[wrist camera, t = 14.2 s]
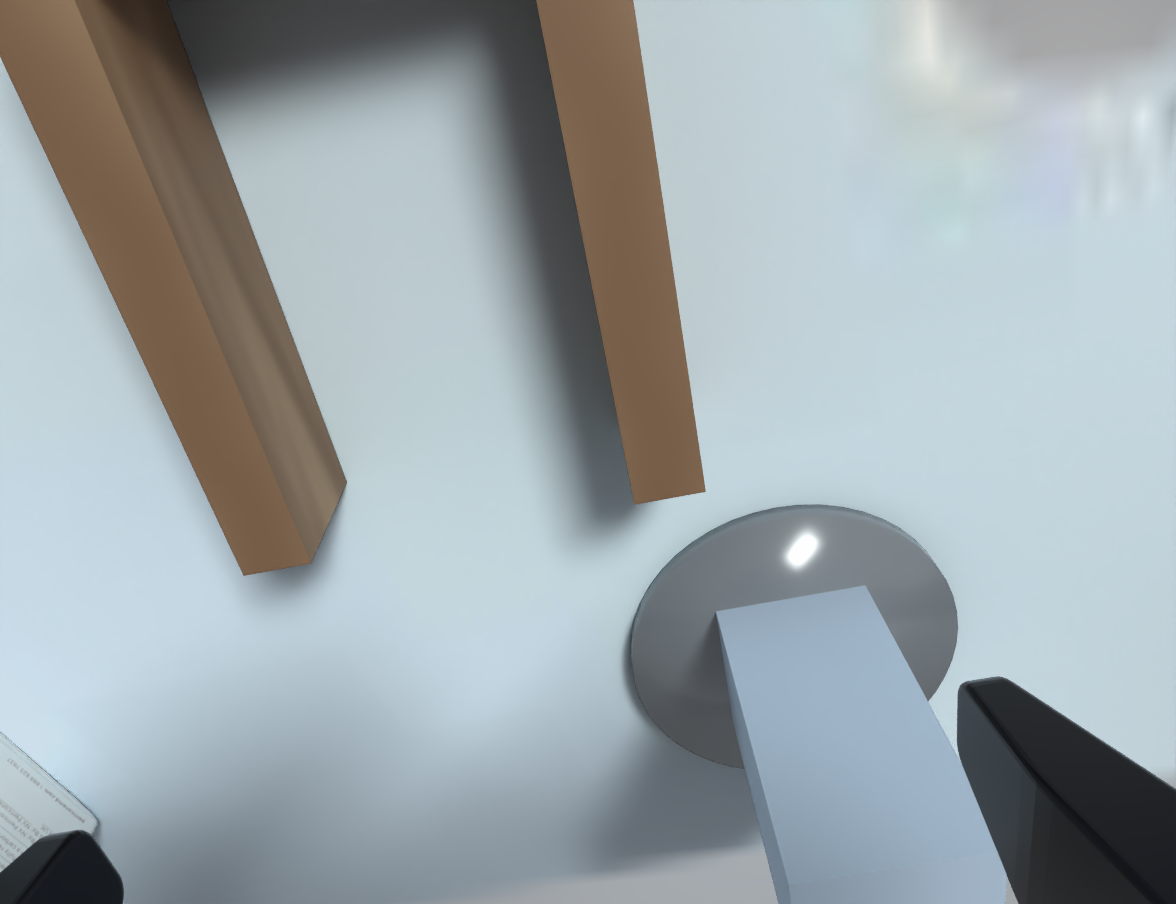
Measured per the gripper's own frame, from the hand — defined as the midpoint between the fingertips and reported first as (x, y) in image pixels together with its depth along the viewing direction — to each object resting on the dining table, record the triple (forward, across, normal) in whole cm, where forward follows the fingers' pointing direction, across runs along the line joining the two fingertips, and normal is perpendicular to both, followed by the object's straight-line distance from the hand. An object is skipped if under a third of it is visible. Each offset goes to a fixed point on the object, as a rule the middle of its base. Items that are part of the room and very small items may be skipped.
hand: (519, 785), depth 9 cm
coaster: (+12, -5, +10) cm, 17 cm away
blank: (+12, -5, +10) cm, 16 cm away
